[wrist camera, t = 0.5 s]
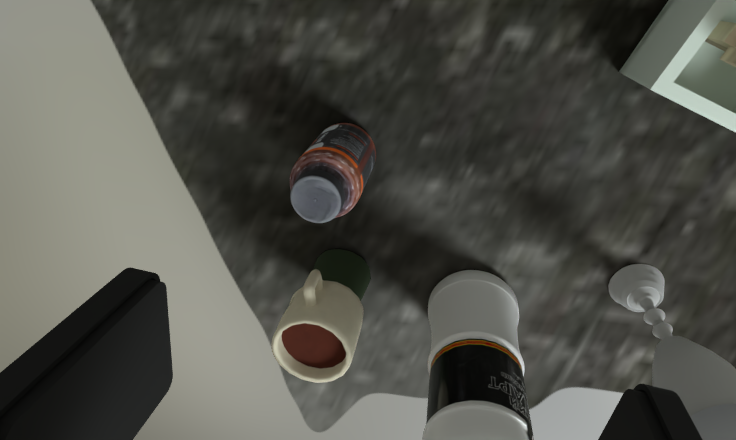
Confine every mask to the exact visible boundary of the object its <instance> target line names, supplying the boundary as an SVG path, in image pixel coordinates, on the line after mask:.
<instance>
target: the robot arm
mask: <svg viewBox="0 0 736 440" xmlns="http://www.w3.org/2000/svg"><path fill="white" fill-rule="evenodd" d="M172 377H173V372H172V358H171V346H170V333H169V318H168V306H167V292H166V285H165V283H163V282H160V279H159V276H158V275H157V274H156V273H152V272H148V271H143V270H139V269H134V268H127V269H125V270H123V271H122V272H121V273H120V274H118V275H117V276H116V277H115V278H114V279H112V280H111V281H110V282H109V283H108V284H106V285H105V286H104V287H103V288H102V289H100V290H99V291H98V292H97V293H96V294H94V295H93V296H92V297H91V298H90V299H88V300H87V301H86V302H85V303H84V304H82V305H81V306H80V307H79V308H77V309H76V310H75V311H74V312H73V313H71V314H70V315H69V316H68V317H67V318H66V319H64V320H63V321H62V322H61V323H59V324H58V325H57V326H56V327H55V328H53V330H51V331H50V332H49V333H47V334H46V335H45V336H44V337H43V338H42V339H40V340H39V341H38V342H37V343H35V344H34V345H33V346H32V347H31V348H30V349H28V350H27V351H26V352H25V353H23V354H22V355H21V356H20V357H19V358H18V359H16V360H15V361H14V362H13V363H12V364H10V365H9V366H8V367H7V368H6V369H4V370H3V371H2V372H1V373H0V440H133V439H134V437H135V436H136V434H137V433H138V432H139V430H140V429H141V427H142V426H143V425H144V423H145V422H146V421H147V419H148V418H149V416H150V415H151V414H152V412H153V411H154V410H155V408H156V407H157V406H158V404H159V403H160V401H161V400H162V399H163V397H164V396H165V395H166V393H167V392H168V390H169V387H170V385H171V382H172ZM598 440H703V439H702V438H701V436H700V434H699V432H698V430H697V428H696V426H695V425H694V423H693V421H692V419H691V417H690V415H689V413H688V412H687V410H686V408H685V406H684V404H683V402H682V400H681V399H680V397H679V396H678V394H677V393H675V392H674V391H672V390H667V389H663V388H658V387H654V386H650V385H645V384H639V385H637V386H636V387H635V388H634V390H632V389H628V390H626V391H625V392H624V394H623V396H622V397H621V399H620V401H619V403H618V405H617V406H616V408H615V410H614V412H613V414H612V416H611V418H610V419H609V421H608V423H607V425H606V427H605V429H604V430H603V432H602V434H601V436H600V438H599V439H598Z"/></svg>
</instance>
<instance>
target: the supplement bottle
mask: <svg viewBox="0 0 736 440" xmlns="http://www.w3.org/2000/svg"><path fill="white" fill-rule="evenodd" d="M375 159H376V150H375V146H374V143H373V141H372V139H371V137H370V136H369V134H368V133H367V132H366V131H364V130H363V129H362V128H360V127H358V126H356V125H354V124H350V123H337V124H334V125H331V126H329V127H328V128H326V129H325V130H324V131H323V132H322V133H321V134H320V135H319V136H318V137H317V138H316V139H315V141H314V142H313V143H312V144H311V145H310V146H309V148H308V149H307V150H306V151H305V152H304V153H303V154H302V155H301V157H300V158H299V159H298V160H297V162H296V163H295V165H294V166H293V168H292V171H291V173H290V189H291V195H290V197H291V203H292V206H293V208H294V209H295V211H296V212H297V214H298V215H300V216H301V217H302V218H303V219H305V220H307V221H310V222H314V223H325V222H328V221H330V220H332V219H334V218H337V217H340V216H343V215H345V214H346V213H348V212H349V211H350V210H352V209H353V207H354V206H355V205H356V203H357V202H358V200H359V198H360V196H361V194H362V192H363V189H364V187H365V185H366V183H367V181H368V178H369V176H370V174H371V171H372V169H373V167H374V164H375Z"/></svg>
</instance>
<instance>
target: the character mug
mask: <svg viewBox="0 0 736 440" xmlns="http://www.w3.org/2000/svg"><path fill="white" fill-rule="evenodd" d="M370 279H371V276H370V269H369V266H368V265H367V264H366V262H365V261H364V260H363V258H361V257H360V256H358V255H356V254H354V253H353V252H351V251H346V250H340V249H334V250H327V251H325V252H324V253H323V254H321V255H320V256H319V257H318V258H317V260H316V263H315V266H314V268H313V271H311V272H310V274H309V276H308V278H307V280H306V282H305V284H304V287H302V288H300V289H299V290H297V291H296V292H295V293H294V295H293V297H292V299H291V301H290V305H289V307H288V308H287V310H286V311H285V313H284V314H283V316H282V318H281V320H280V322H279V325H278V327H277V329H276V331H275V333H274V335H273V338H272V345H271V346H272V352H273V355H274V357H275V359H276V360H277V362H278V363H279V364H280V365H281V366H282V367H283V368H284V369H285V370H286V371H288V372H289V373H290V374H292V375H294V376H296V377H298V378H300V379H302V380H306V381H311V382H316V383H321V382H329V381H333V380H335V379H337V378H339V377H341V376H343V375H344V373H345V372H346V371H347V369H348V368H349V366H350V365H351V362H352V359H353V355H354V352H355V348H356V344H357V341H358V337H359V334H360V330H361V326H362V320H363V310H364V309H363V306H362V304H361V302H360V301H361V299H362V297H363V295H364V293H365V291H366V289H367V286H368V284H369V282H370Z"/></svg>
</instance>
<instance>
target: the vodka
mask: <svg viewBox="0 0 736 440" xmlns="http://www.w3.org/2000/svg"><path fill="white" fill-rule="evenodd" d="M428 320H429V323H430V326H431V333H432V340H431V353H430V355H429V358H428V371H429V374H430V379H429V393H428V408H427V423H426V426H425V429H424V432H423V440H534V438H533V432H532V426H531V420H530V414H529V408H528V402H527V396H526V390H525V384H524V378H523V376H524V369H525V368H524V362H523V359H522V356H521V354H520V351H519V347H518V335H517V326H518V322H519V309H518V302H517V298H516V296H515V294H514V292H513V290H512V289H511V288H510V287H509V285H507V284H506V283H505V282H504V281H503V280H501V279H500V278H499V277H497V276H495V275H493V274H491V273H488V272H484V271H479V270H464V271H459V272H456V273H453V274H451V275H449V276H447V277H445V278H444V279H443V280H441V281H440V282H439V283H438V284H437V285H436V286H435V288H434V289H433V291H432V292H431V295H430V297H429V302H428Z"/></svg>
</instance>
